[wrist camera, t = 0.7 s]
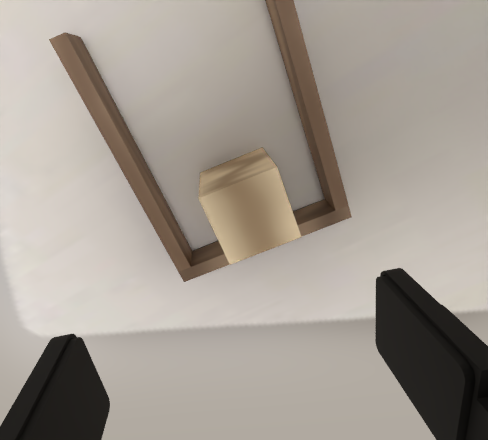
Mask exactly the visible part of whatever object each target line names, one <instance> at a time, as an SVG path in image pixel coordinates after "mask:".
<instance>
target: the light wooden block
mask: <svg viewBox="0 0 488 440" xmlns="http://www.w3.org/2000/svg"><path fill="white" fill-rule="evenodd" d="M198 199H199V201H200V203H201V205H202V207H203V209H204V211H205V213H206V215H207V218H208V220H209V222H210V224H211V226H212V228H213V230H214V232H215V234H216V237H217V239H218V241H219V243H220V245H221V247H222V249H223V251H224V253H225V256H226V258H227V260H228V262H229V264H230V265H231V264H233V263H236V262H238V261H241V260H244V259H246V258H249V257H251V256H254V255H256V254H259V253H262V252H264V251H267V250H269V249H272V248H274V247H277V246H280V245H282V244H285V243H287V242H290V241H293V240H295V239H298V238H300V237H301V234H300V231H299V228H298V226H297V223H296V220H295V217H294V214H293V211H292V208H291V205H290V203H289V200H288V197H287V194H286V191H285V188H284V185H283V183H282V180H281V177H280V174H279V171H278V168H277V166H276V165H275V164H274V162H273V161H272V160H271V158H270V157H269V156H268V154H267V153H266V152H265V151H264V149H263V148H260V149H257V150H255V151H252V152H250V153H248V154H245V155H243V156H240V157H238V158H235V159H233V160H230V161H228V162H225V163H223V164H220V165H218V166H216V167H213V168H211V169H208V170H206V171H203V172H201V173H200V183H199V197H198Z"/></svg>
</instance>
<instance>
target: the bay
mask: <svg viewBox="0 0 488 440" xmlns="http://www.w3.org/2000/svg"><path fill="white" fill-rule="evenodd" d="M265 1H266V4H267V7H268V11H269V14H270V17H271V21H272V24H273V27H274V31H275V34H276V37H277V41H278V44H279V47H280V51H281V54H282V57H283V61H284V64H285V68H286V71H287V74H288V78H289V81H290V84H291V88H292V91H293V94H294V98H295V101H296V104H297V108H298V111H299V114H300V118H301V121H302V124H303V128H304V131H305V134H306V138H307V141H308V144H309V148H310V151H311V154H312V158H313V161H314V165H315V168H316V171H317V175H318V178H319V181H320V185H321V188H322V191H323V195H324V198H325V199H324V200H322V201H319V202H316V203H314V204H311V205H309V206H306V207H304V208H301V209H299V210H296V211H294V212H293V214H294V217H295V220H296V223H297V226H298V228H299V231H300V234H301V236H304V235H307V234H309V233H312V232H314V231H317V230H320V229H322V228H325V227H327V226H330V225H332V224H335V223H338V222H340V221H343V220H345V219H348V218H351V213H350V209H349V206H348V202H347V198H346V194H345V191H344V187H343V183H342V180H341V176H340V172H339V168H338V165H337V161H336V157H335V153H334V150H333V146H332V142H331V139H330V135H329V131H328V127H327V124H326V120H325V116H324V112H323V109H322V105H321V101H320V98H319V94H318V90H317V86H316V83H315V79H314V75H313V72H312V68H311V64H310V60H309V57H308V53H307V49H306V45H305V42H304V38H303V34H302V31H301V27H300V23H299V19H298V16H297V12H296V8H295V4H294V1H293V0H265ZM49 40H50V42H51V44H52V46H53V48H54V49H55V51H56V53H57V55H58V57H59V58H60V60H61V62H62V64H63V66H64V67H65V69H66V71H67V73H68V75H69V76H70V78H71V80H72V82H73V84H74V85H75V87H76V89H77V91H78V92H79V94H80V96H81V98H82V100H83V101H84V103H85V105H86V107H87V109H88V110H89V112H90V114H91V116H92V118H93V119H94V121H95V123H96V125H97V127H98V128H99V130H100V132H101V134H102V136H103V137H104V139H105V141H106V143H107V144H108V146H109V148H110V150H111V152H112V153H113V155H114V157H115V159H116V161H117V162H118V164H119V166H120V168H121V170H122V171H123V173H124V175H125V177H126V179H127V180H128V182H129V184H130V186H131V188H132V189H133V191H134V193H135V195H136V196H137V198H138V200H139V202H140V204H141V205H142V207H143V209H144V211H145V213H146V214H147V216H148V218H149V220H150V222H151V223H152V225H153V227H154V229H155V231H156V232H157V234H158V236H159V238H160V240H161V241H162V243H163V245H164V247H165V249H166V250H167V252H168V254H169V256H170V257H171V259H172V261H173V263H174V265H175V266H176V268H177V270H178V272H179V274H180V275H181V277H182V279H183V281H184V282H185V281H188V280H190V279H193V278H196V277H198V276H201V275H203V274H206V273H209V272H211V271H214V270H216V269H219V268H221V267H224V266H227V265H229V262H228V260H227V258H226V256H225V253H224V251H223V249H222V247H221V245H220V243H219V241H217V242H215V243H212V244H209V245H207V246H204V247H202V248H199V249H197V250H194V251H192V250H191V249H190V247H189V245H188V243H187V241H186V239H185V237H184V235H183V233H182V231H181V229H180V227H179V225H178V224H177V222H176V220H175V218H174V216H173V214H172V212H171V210H170V208H169V206H168V204H167V202H166V200H165V199H164V197H163V195H162V193H161V191H160V189H159V187H158V185H157V183H156V181H155V179H154V177H153V175H152V174H151V172H150V170H149V168H148V166H147V164H146V162H145V160H144V158H143V156H142V154H141V152H140V151H139V149H138V147H137V145H136V143H135V141H134V139H133V137H132V135H131V133H130V131H129V129H128V127H127V126H126V124H125V122H124V120H123V118H122V116H121V114H120V112H119V110H118V108H117V106H116V104H115V102H114V101H113V99H112V97H111V95H110V93H109V91H108V89H107V87H106V85H105V83H104V81H103V79H102V78H101V76H100V74H99V72H98V70H97V68H96V66H95V64H94V62H93V60H92V58H91V56H90V54H89V53H88V51H87V49H86V47H85V45H84V43H83V41H82V39H81V37H78V36H75V35H71V34H68V33H63V34H61V35H58V36H56V37H54V38H52V39H49Z"/></svg>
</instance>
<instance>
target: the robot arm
mask: <svg viewBox="0 0 488 440" xmlns="http://www.w3.org/2000/svg"><path fill="white" fill-rule="evenodd" d="M376 346H377V349H378V351H379V353H380V355H381V356H382V358H383V359H384V361H385V362H386V364H387V365H388V367H389V368H390V370H391V371H392V373H393V374H394V375H395V377H396V379H397V380H398V382H399V383H400V385H401V386H402V388H403V390H404V391H405V393H406V394H407V396H408V397H409V399H410V400H411V402H412V403H413V405H414V406H415V408H416V409H417V411H418V412H419V414H420V415H421V417H422V418H423V420H424V421H425V423H426V425H427V426H428V428H429V429H430V431H431V432H432V434H433V435H434V437H435V438H436V440H488V346H487V345H486V344H485V343H484V342H482V341H481V340H480V339H479V338H478V337H477V336H476V335H475V334H474V333H473V332H472V331H470V330H469V329H468V328H467V327H466V326H465V325H464V324H463V323H462V322H461V321H460V320H459V319H458V318H457V317H456V316H454V315H453V314H452V313H451V312H450V311H449V310H448V309H447V308H446V307H444V306H443V305H440V304H439V303H438V302H437V301H436V300H435V299H434V298H433V297H432V296H431V295H430V294H429V293H428V292H427V291H425V290H424V289H423V288H422V287H421V286H420V285H419V284H418V283H417V282H416V281H415V280H414V279H413V278H412V277H410V276H409V275H408V274H407V273H406V272H405V271H404V270H403V269H401V268H397V269H392V270H387V271H383V272H381V276H380V277H377V279H376ZM109 408H110V402H109V397H108V395H107V393H106V391H105V389H104V386H103V384H102V381H101V380H100V377H99V375H98V373H97V371H96V368H95V366H94V364H93V362H92V359H91V357H90V355H89V352H88V350H87V348H86V346H85V344H84V341H83V339H82V338H81V337H78V338H77V337H76V335H74V334H69V335H64V336H59V337H54V338H52V339H51V340H50V342H49V343H48V345H47V347H46V348H45V350H44V352H43V354H42V355H41V357H40V359H39V361H38V362H37V364H36V366H35V367H34V369H33V371H32V373H31V375H30V376H29V378H28V380H27V381H26V383H25V385H24V386H23V388H22V390H21V392H20V394H19V395H18V397H17V399H16V400H15V402H14V404H13V405H12V407H11V409H10V411H9V413H8V414H7V416H6V418H5V419H4V421H3V423H2V425H1V426H0V440H101V438H102V435H103V431H104V428H105V424H106V420H107V417H108V412H109Z"/></svg>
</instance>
